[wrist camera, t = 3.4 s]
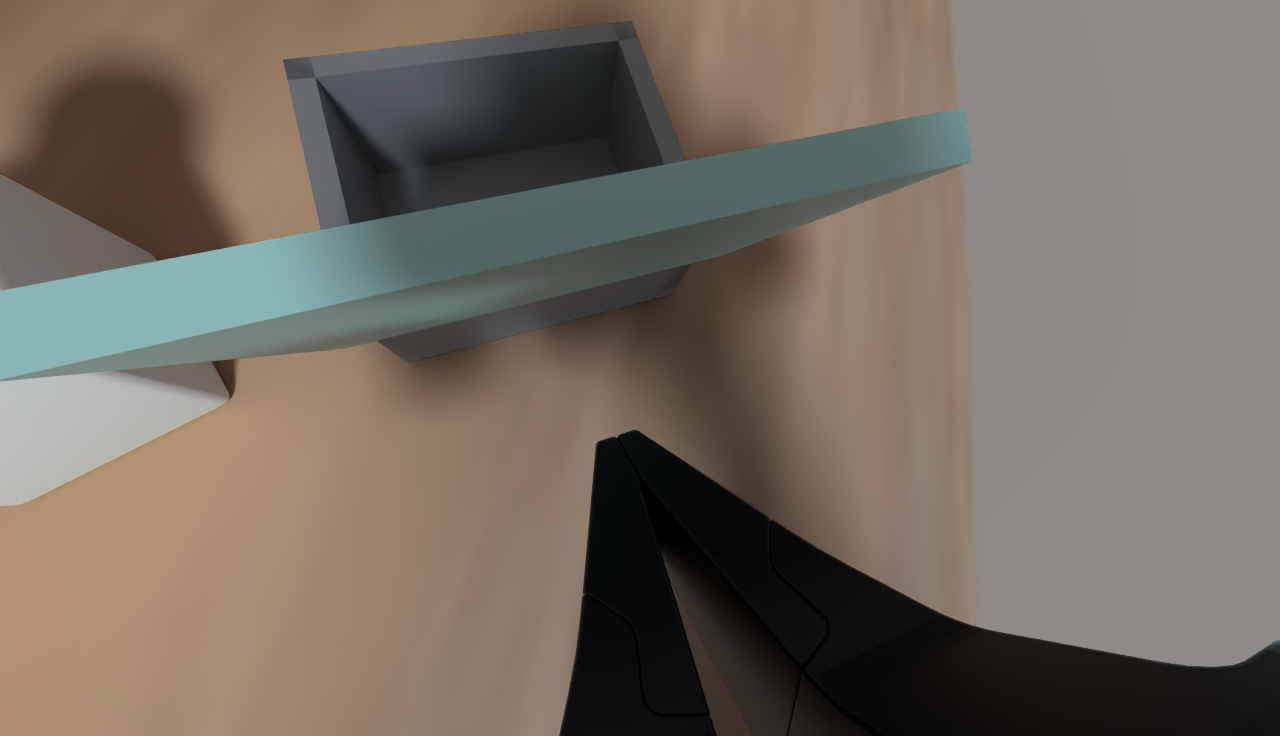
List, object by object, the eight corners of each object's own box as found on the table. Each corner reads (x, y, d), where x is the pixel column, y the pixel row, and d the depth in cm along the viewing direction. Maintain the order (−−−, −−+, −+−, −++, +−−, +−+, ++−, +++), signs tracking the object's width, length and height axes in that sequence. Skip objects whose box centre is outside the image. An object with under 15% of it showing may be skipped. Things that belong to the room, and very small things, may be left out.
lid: (718, 232, 16) (723, 255, 16) (335, 321, 13) (344, 348, 13) (964, 107, 7) (972, 161, 7) (-54, 300, 4) (-15, 383, 4)
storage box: (672, 294, 22) (711, 229, 16) (408, 362, 19) (339, 314, 13) (614, 134, 23) (631, 20, 17) (363, 176, 20) (283, 59, 15)
